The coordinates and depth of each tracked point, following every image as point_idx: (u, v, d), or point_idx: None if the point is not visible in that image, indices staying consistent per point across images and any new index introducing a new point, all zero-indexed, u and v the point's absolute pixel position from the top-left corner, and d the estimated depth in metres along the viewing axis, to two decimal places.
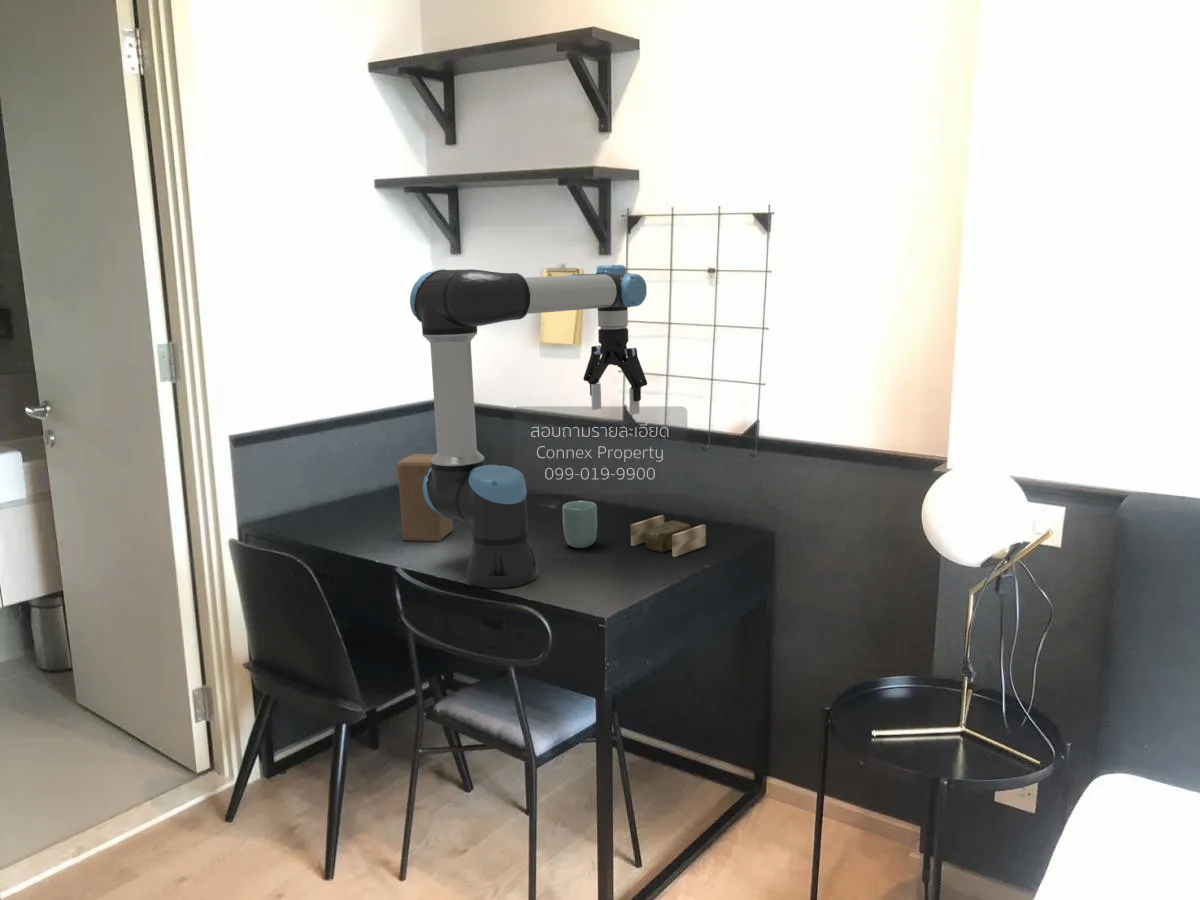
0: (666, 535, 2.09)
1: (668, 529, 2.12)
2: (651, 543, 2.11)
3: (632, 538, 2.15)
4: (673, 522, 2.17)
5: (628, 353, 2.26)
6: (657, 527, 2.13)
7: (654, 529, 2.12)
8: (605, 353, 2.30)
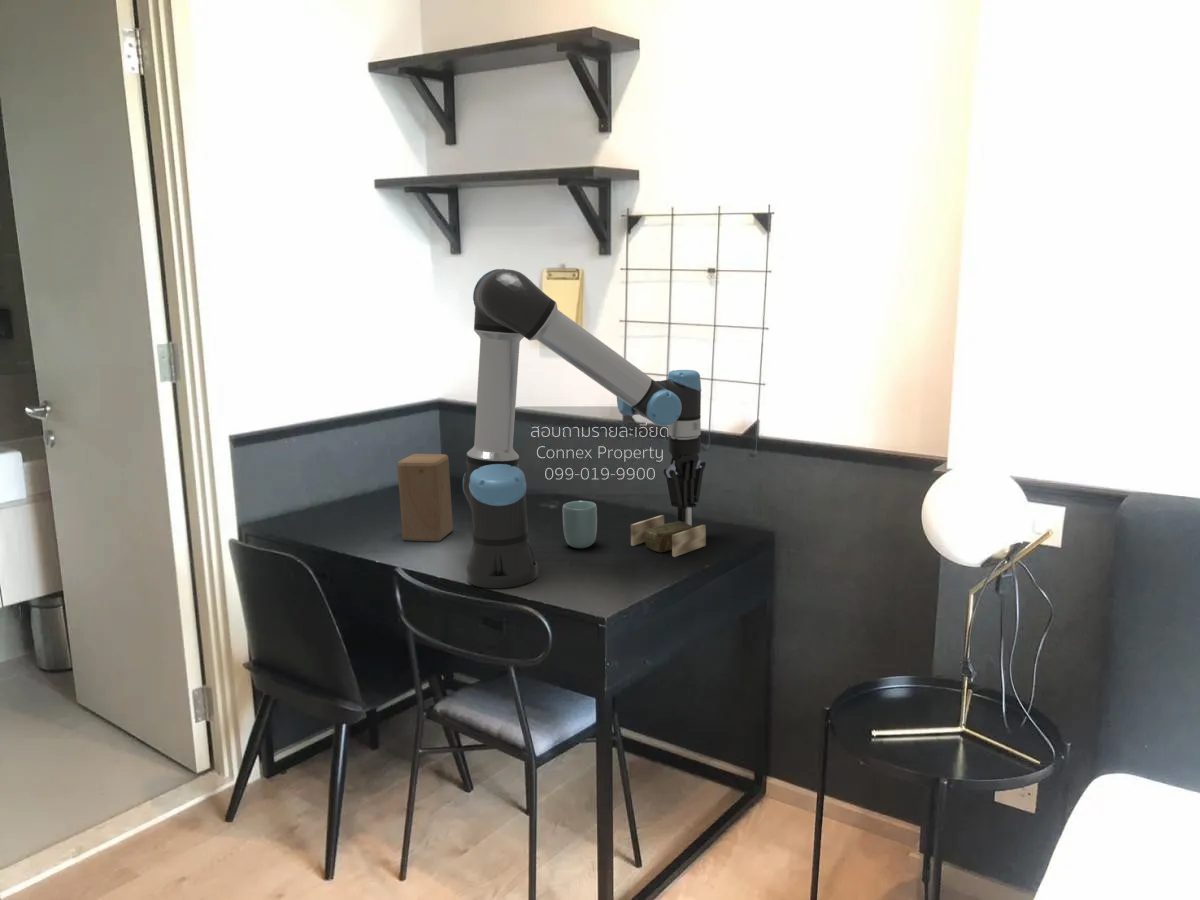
0: (664, 535, 2.09)
1: (668, 529, 2.11)
2: (649, 542, 2.11)
3: (632, 538, 2.15)
4: (677, 523, 2.16)
5: None
6: (658, 527, 2.13)
7: (654, 529, 2.12)
8: None
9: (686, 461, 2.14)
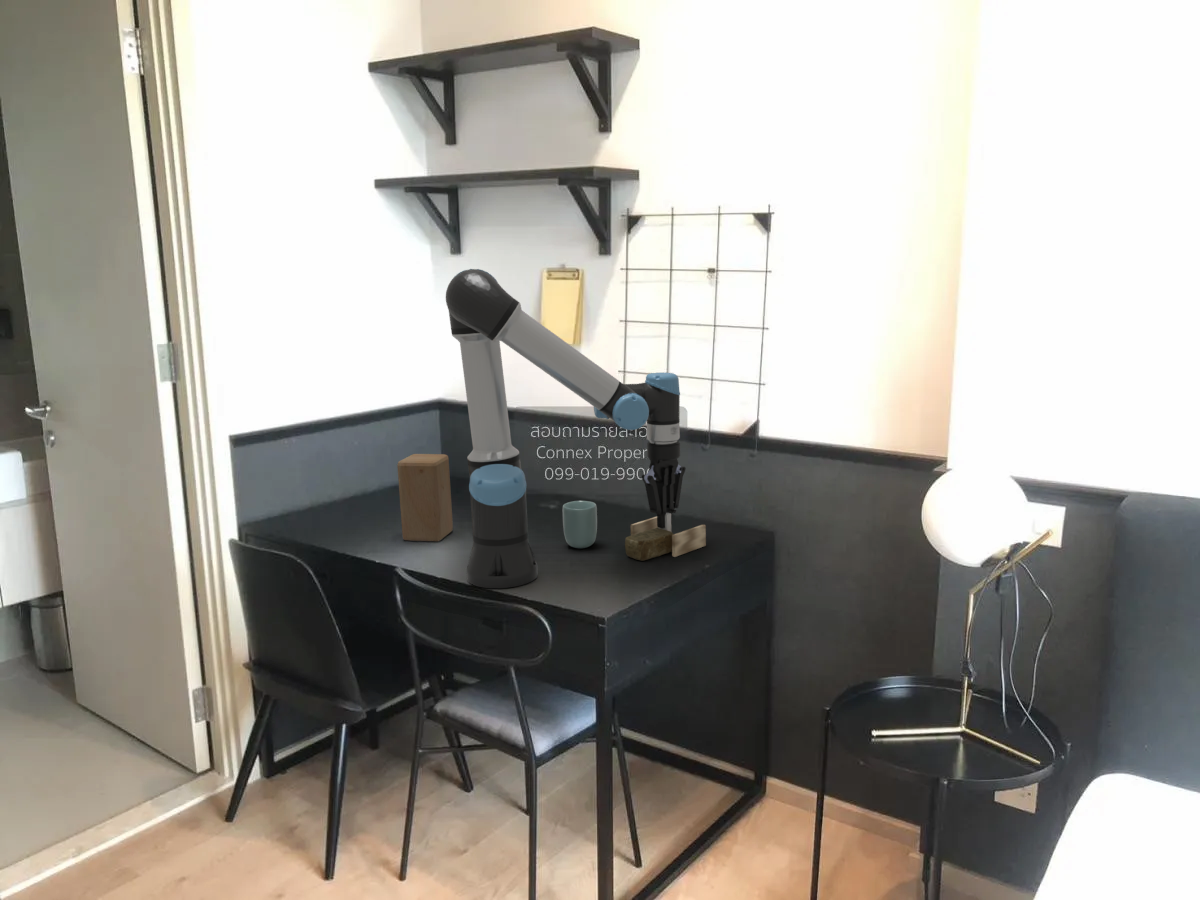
0: (646, 543, 2.04)
1: (649, 537, 2.06)
2: (630, 550, 2.05)
3: None
4: (657, 529, 2.11)
5: None
6: (638, 534, 2.07)
7: (635, 536, 2.06)
8: None
9: (665, 466, 2.09)
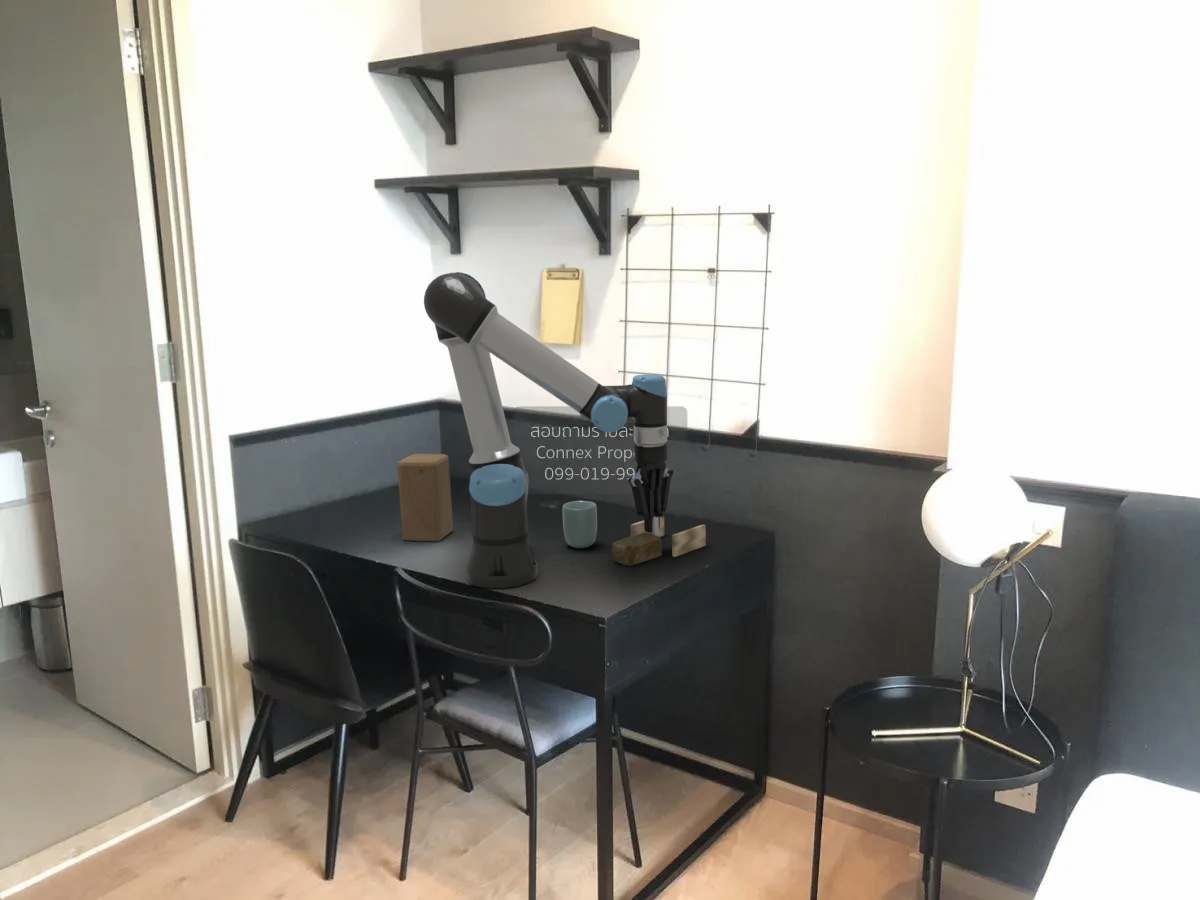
0: (634, 548, 2.00)
1: (637, 541, 2.03)
2: (618, 556, 2.02)
3: None
4: (644, 534, 2.08)
5: None
6: (626, 539, 2.04)
7: (622, 542, 2.03)
8: None
9: (652, 469, 2.06)
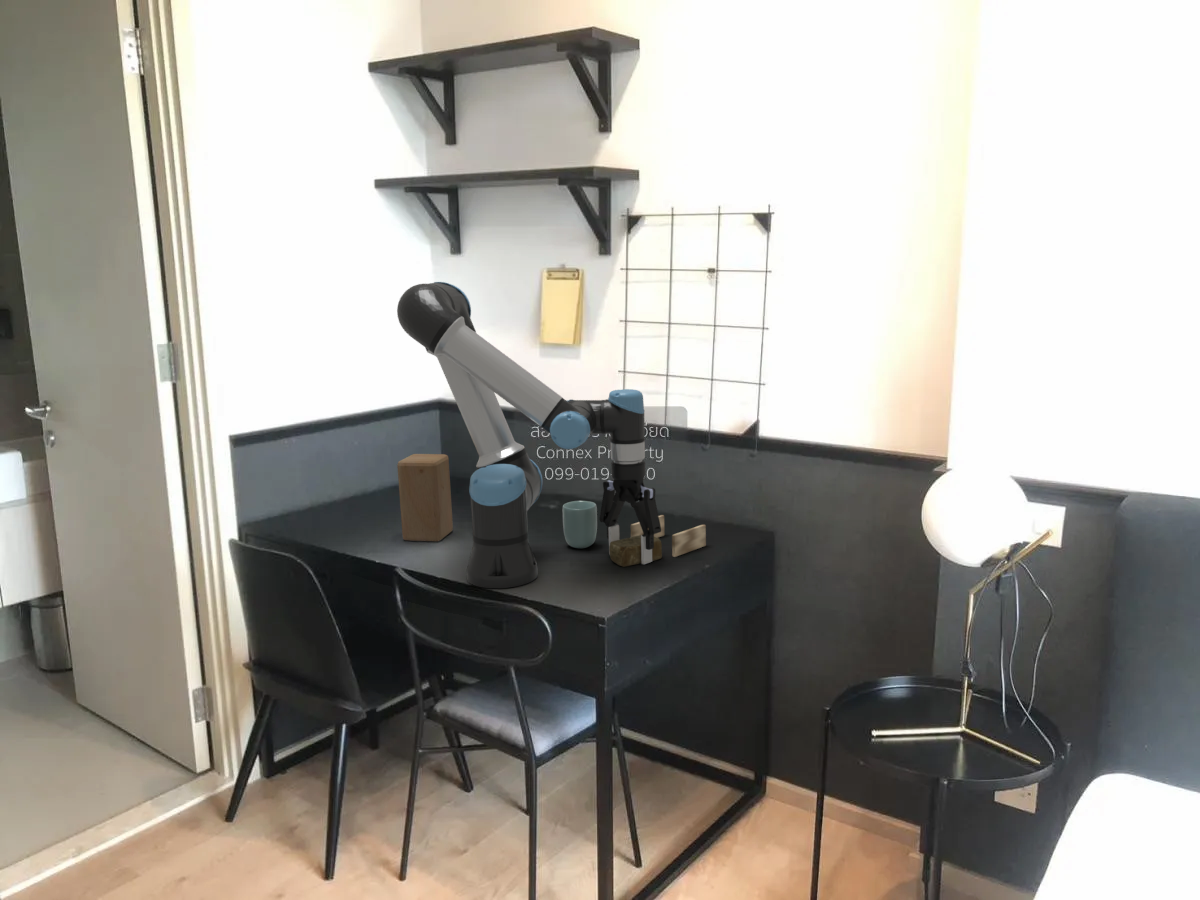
0: (628, 549, 2.00)
1: (634, 543, 2.02)
2: (613, 555, 2.03)
3: None
4: None
5: (645, 495, 1.98)
6: (624, 540, 2.04)
7: (619, 542, 2.03)
8: (619, 488, 2.02)
9: None
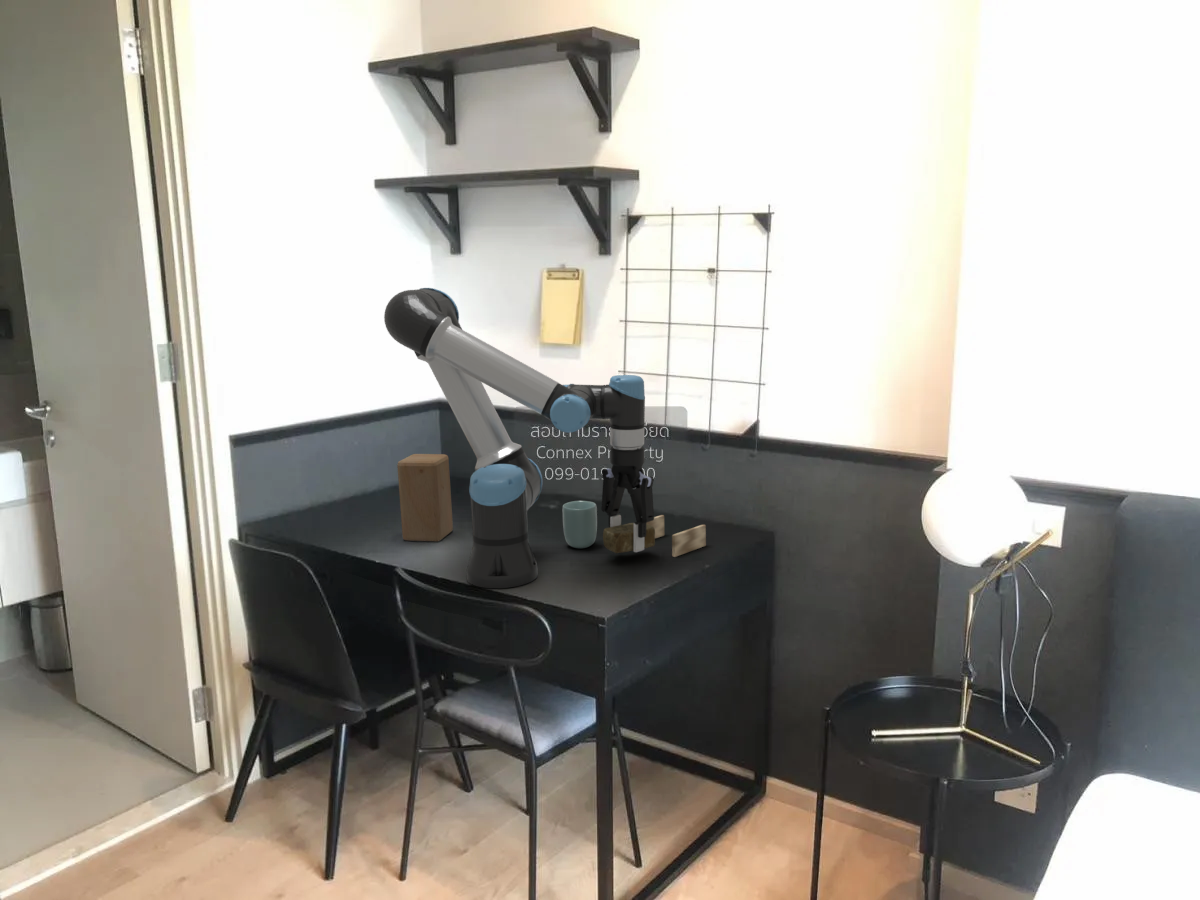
0: (622, 535, 2.01)
1: (627, 529, 2.03)
2: (607, 542, 2.03)
3: None
4: None
5: (643, 483, 1.97)
6: (617, 527, 2.05)
7: (613, 528, 2.03)
8: (617, 474, 2.01)
9: None
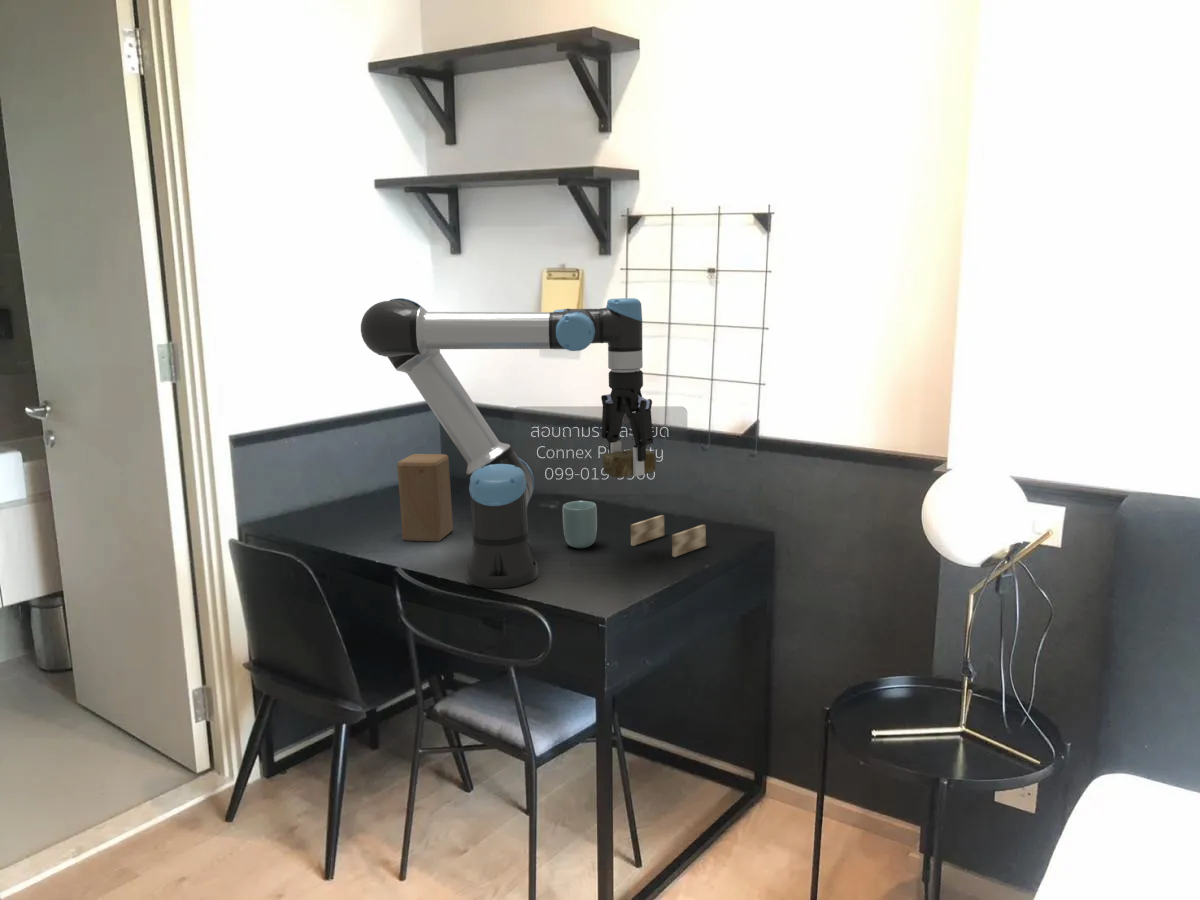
0: (621, 459, 2.00)
1: (627, 454, 2.03)
2: (607, 467, 2.03)
3: (632, 538, 2.15)
4: None
5: (641, 405, 1.97)
6: (617, 452, 2.04)
7: (613, 453, 2.03)
8: (616, 398, 2.01)
9: None
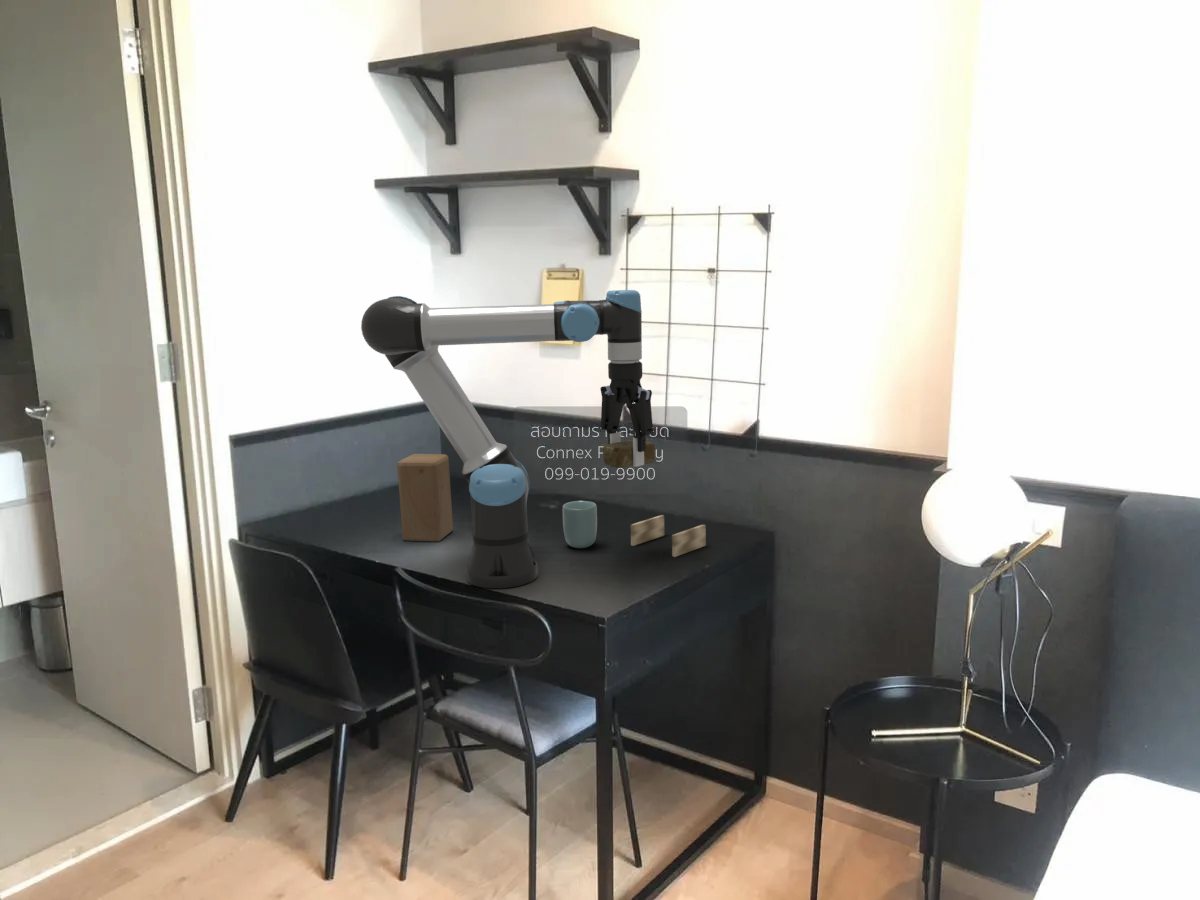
0: (621, 449, 2.02)
1: (627, 445, 2.04)
2: (607, 458, 2.04)
3: (632, 538, 2.15)
4: None
5: (641, 396, 1.98)
6: (617, 443, 2.06)
7: (612, 444, 2.05)
8: (616, 389, 2.03)
9: None
